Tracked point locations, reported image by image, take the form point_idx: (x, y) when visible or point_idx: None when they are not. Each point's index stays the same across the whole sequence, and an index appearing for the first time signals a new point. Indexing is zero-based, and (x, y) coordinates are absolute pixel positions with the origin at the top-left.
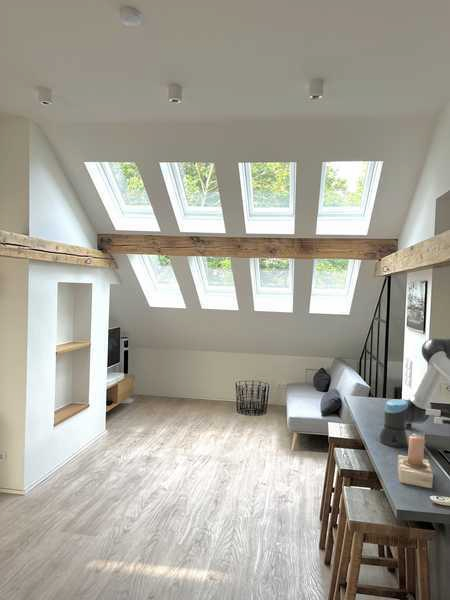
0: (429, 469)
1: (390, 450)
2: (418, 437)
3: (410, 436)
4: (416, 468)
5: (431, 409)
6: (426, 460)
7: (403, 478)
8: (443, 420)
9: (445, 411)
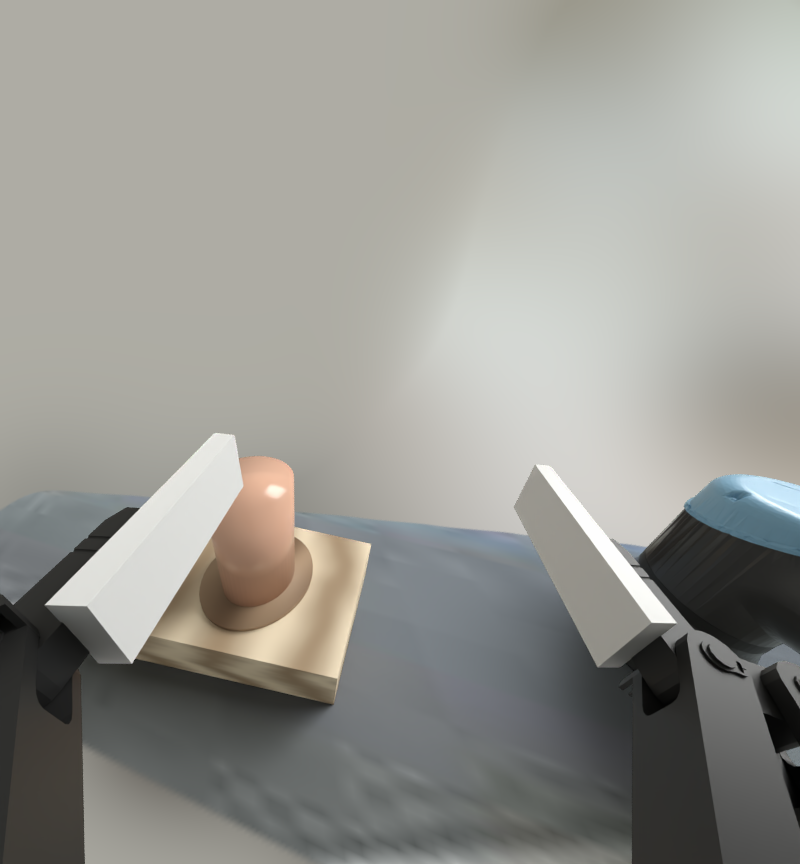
0: (186, 632)
1: (534, 592)
2: (247, 485)
3: (266, 459)
4: (210, 566)
5: (565, 500)
6: (327, 664)
7: None
8: (130, 510)
9: (739, 748)
